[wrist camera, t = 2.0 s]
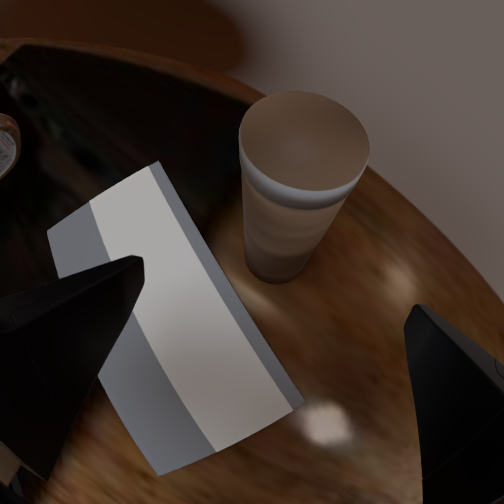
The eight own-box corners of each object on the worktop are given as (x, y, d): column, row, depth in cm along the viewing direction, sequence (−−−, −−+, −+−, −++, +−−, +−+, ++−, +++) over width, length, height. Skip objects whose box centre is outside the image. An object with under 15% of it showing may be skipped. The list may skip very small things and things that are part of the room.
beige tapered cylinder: (318, 263, 21) (394, 157, 9) (266, 296, 21) (291, 214, 8) (284, 214, 23) (315, 79, 10) (232, 244, 22) (214, 115, 10)
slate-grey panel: (304, 400, 18) (306, 402, 18) (160, 473, 16) (158, 476, 15) (160, 164, 24) (158, 160, 24) (50, 233, 22) (46, 230, 21)
